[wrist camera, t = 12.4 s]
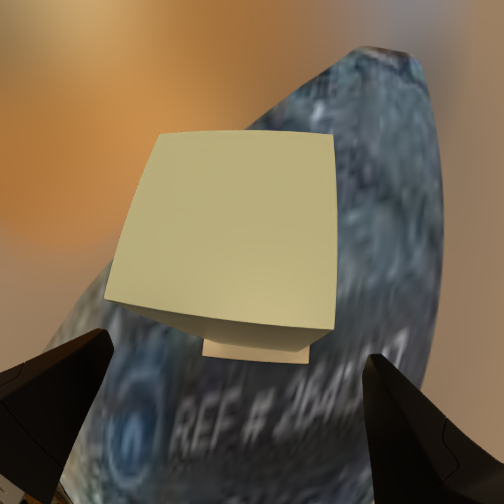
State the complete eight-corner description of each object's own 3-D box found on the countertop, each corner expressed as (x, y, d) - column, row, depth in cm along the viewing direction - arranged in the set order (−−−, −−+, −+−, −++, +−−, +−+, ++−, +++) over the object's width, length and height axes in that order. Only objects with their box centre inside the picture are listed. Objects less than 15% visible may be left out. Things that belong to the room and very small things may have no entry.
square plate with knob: (307, 363, 18) (314, 363, 14) (206, 355, 19) (185, 353, 14) (310, 266, 20) (317, 241, 16) (217, 262, 21) (201, 237, 17)
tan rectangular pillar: (297, 352, 17) (334, 329, 5) (218, 343, 18) (103, 298, 6) (304, 276, 19) (332, 135, 7) (229, 270, 20) (159, 134, 8)
